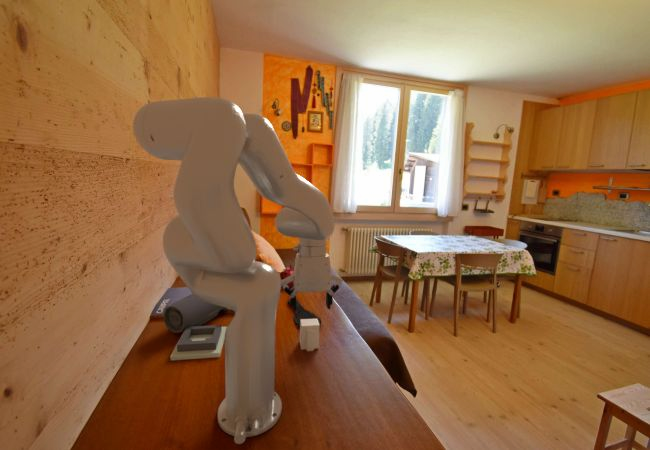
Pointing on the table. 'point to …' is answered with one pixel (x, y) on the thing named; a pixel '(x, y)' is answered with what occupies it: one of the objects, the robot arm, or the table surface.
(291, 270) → the pomegranate
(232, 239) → the robot arm
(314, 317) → the hairbrush
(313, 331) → the keyed plug
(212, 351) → the socket board
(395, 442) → the table surface
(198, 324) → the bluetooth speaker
